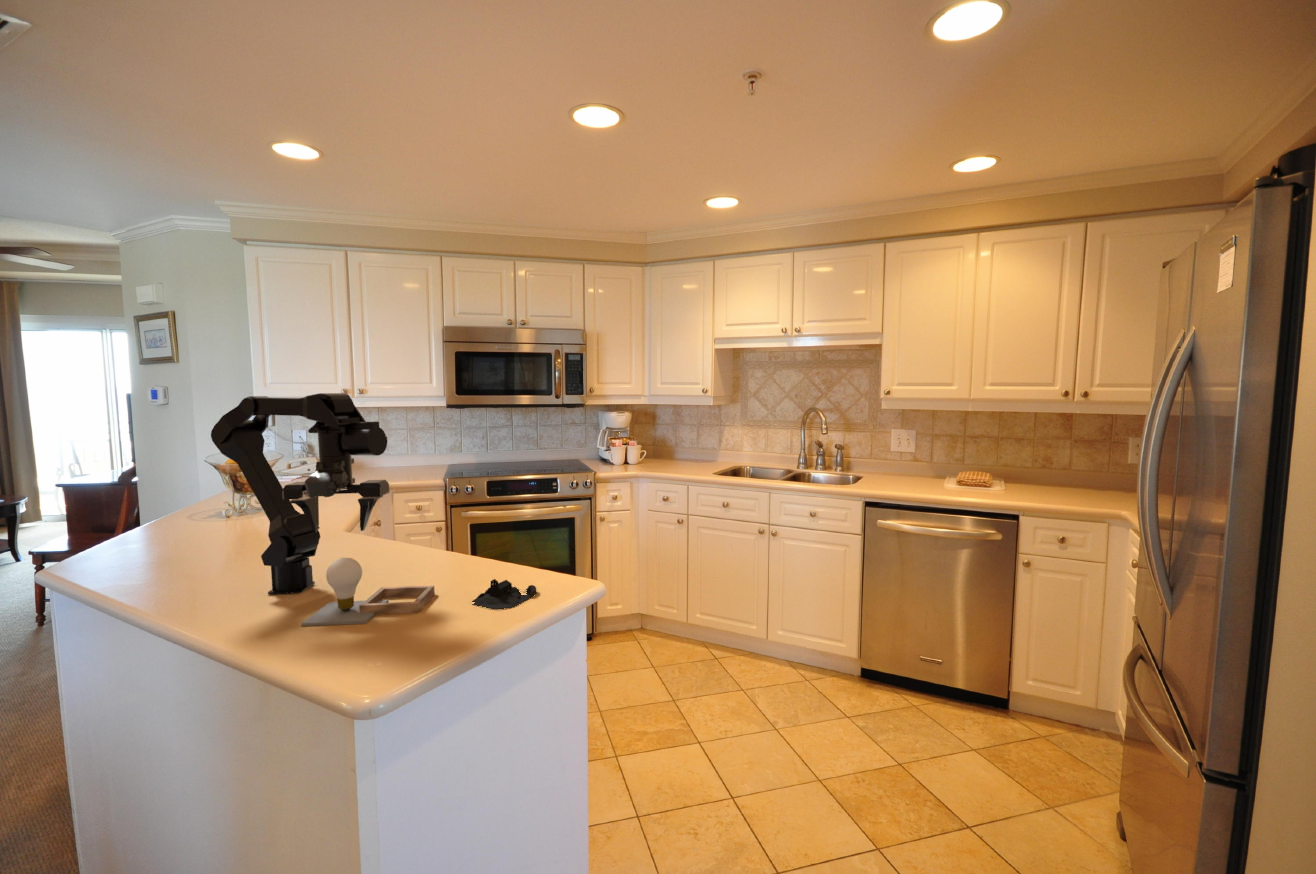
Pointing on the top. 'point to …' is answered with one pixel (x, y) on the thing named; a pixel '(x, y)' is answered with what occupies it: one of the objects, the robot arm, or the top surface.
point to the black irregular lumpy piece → (503, 595)
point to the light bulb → (344, 581)
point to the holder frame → (398, 607)
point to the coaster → (339, 615)
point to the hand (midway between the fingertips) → (339, 531)
